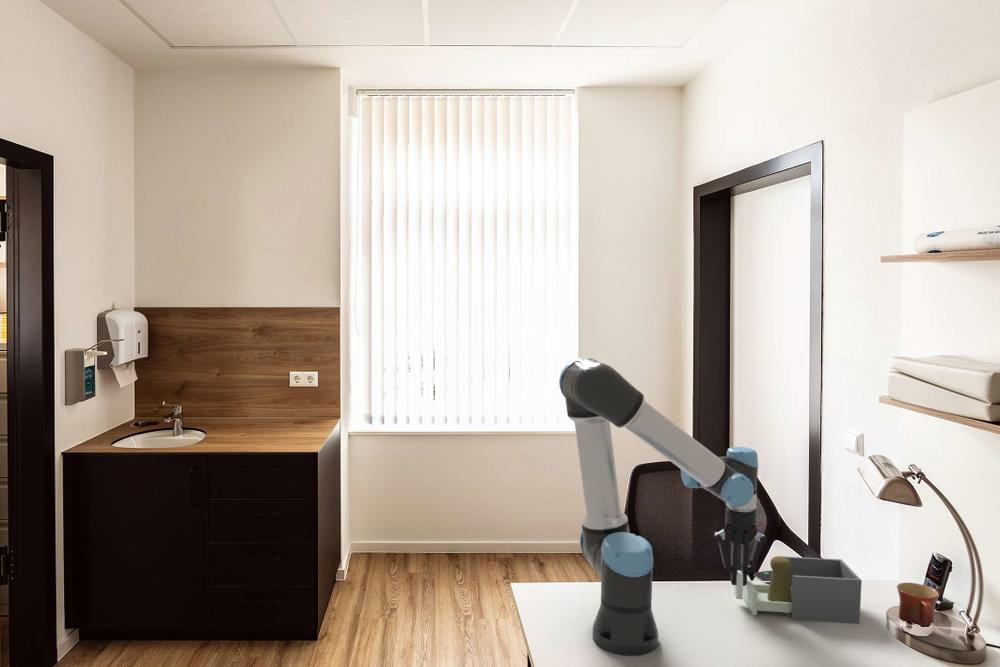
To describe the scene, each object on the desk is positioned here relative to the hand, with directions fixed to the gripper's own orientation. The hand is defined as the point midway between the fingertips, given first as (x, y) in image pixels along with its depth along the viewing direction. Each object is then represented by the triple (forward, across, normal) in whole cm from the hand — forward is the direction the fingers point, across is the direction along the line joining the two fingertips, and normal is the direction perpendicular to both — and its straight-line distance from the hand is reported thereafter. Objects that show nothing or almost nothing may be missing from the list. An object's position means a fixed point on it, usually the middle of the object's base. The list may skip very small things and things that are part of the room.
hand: (738, 596), depth 185 cm
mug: (+3, +40, -11) cm, 41 cm away
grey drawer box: (+2, +20, 0) cm, 20 cm away
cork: (0, +10, 0) cm, 10 cm away
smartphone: (+3, +15, +16) cm, 21 cm away
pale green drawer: (+2, +9, 0) cm, 9 cm away
